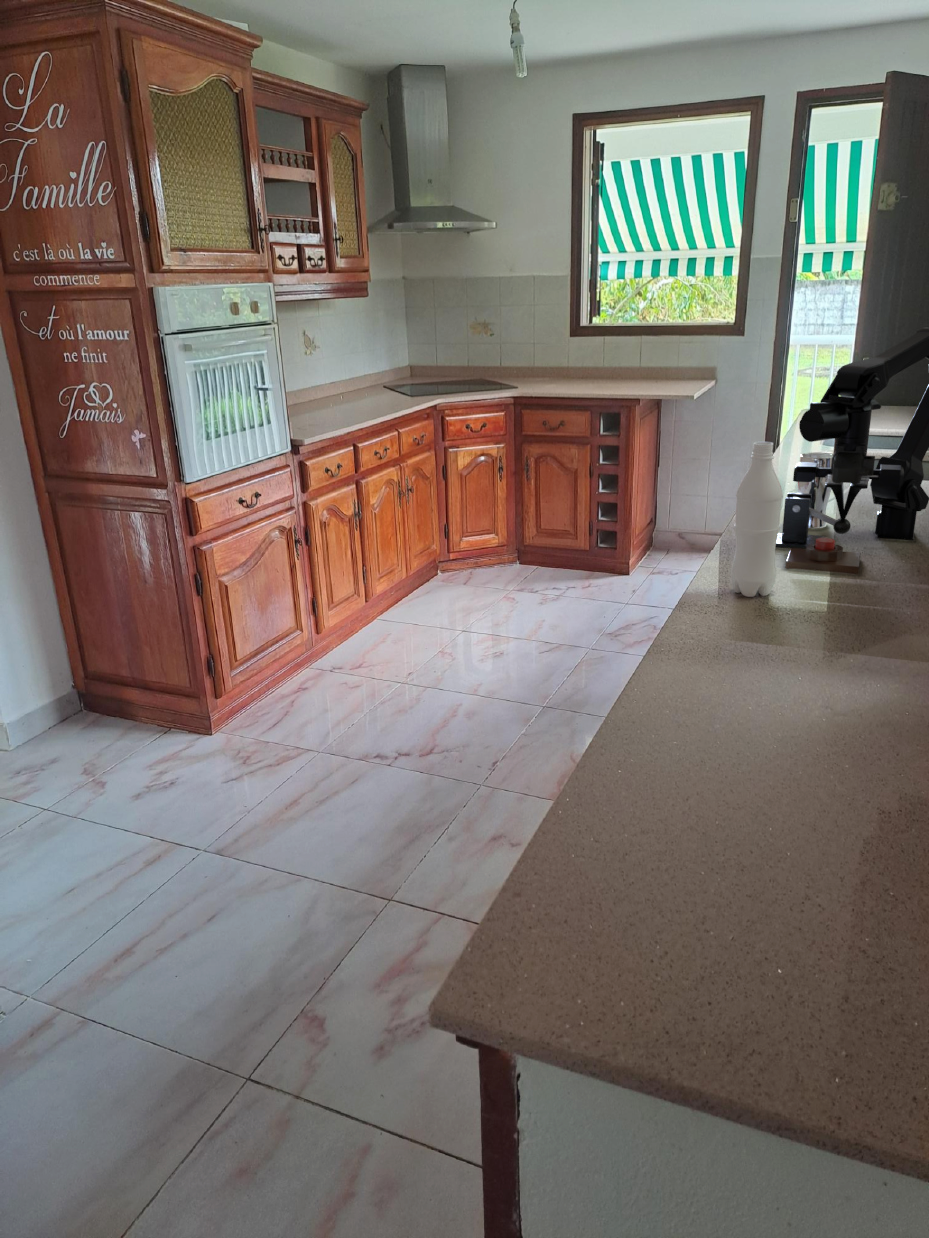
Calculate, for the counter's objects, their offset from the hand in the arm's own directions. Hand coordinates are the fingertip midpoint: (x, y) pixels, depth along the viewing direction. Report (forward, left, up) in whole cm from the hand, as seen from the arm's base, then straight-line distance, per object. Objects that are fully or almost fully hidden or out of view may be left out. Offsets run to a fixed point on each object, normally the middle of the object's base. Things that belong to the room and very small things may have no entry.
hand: (842, 518), depth 167 cm
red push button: (+2, +13, -3) cm, 13 cm away
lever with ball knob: (+5, 0, -1) cm, 5 cm away
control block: (+2, +12, -6) cm, 14 cm away
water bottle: (+12, +31, -6) cm, 34 cm away
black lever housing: (+8, 0, -6) cm, 10 cm away
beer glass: (+6, -15, -6) cm, 17 cm away
